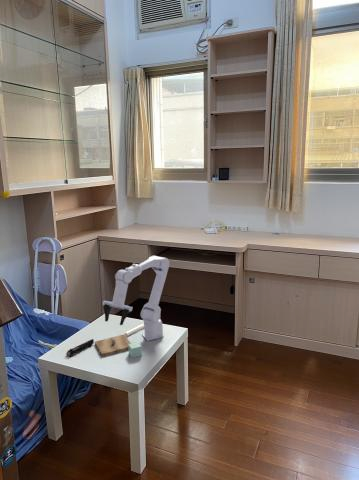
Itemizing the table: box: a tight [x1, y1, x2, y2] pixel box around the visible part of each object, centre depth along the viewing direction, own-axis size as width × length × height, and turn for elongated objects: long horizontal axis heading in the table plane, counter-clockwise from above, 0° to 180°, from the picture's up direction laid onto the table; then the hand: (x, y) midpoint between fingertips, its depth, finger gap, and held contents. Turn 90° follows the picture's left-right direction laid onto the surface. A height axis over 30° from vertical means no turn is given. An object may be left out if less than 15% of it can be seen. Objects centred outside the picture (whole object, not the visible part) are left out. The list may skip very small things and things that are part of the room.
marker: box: [124, 323, 144, 337], centre depth 199 cm, size 3×2×16 cm
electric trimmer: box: [65, 338, 95, 358], centre depth 180 cm, size 4×16×3 cm, turn 141°
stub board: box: [94, 334, 131, 358], centre depth 182 cm, size 16×14×4 cm
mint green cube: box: [128, 341, 143, 359], centre depth 173 cm, size 5×5×5 cm
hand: (113, 323), depth 169 cm, fingers open, 7 cm apart
